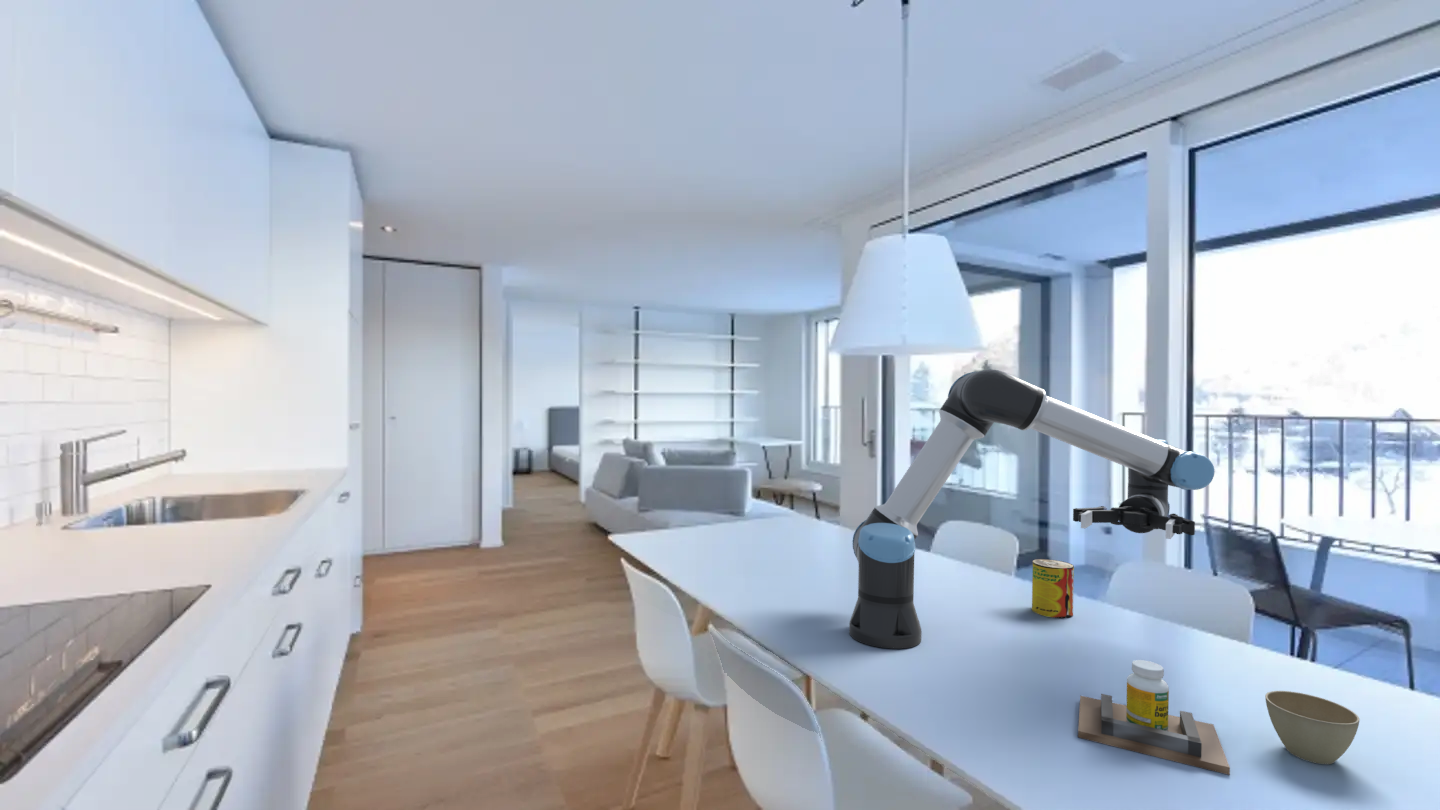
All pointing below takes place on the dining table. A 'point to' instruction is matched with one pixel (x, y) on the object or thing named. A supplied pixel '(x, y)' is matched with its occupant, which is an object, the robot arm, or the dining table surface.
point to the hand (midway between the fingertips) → (1124, 526)
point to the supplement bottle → (1147, 695)
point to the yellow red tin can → (1052, 588)
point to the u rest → (1152, 735)
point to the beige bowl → (1311, 725)
